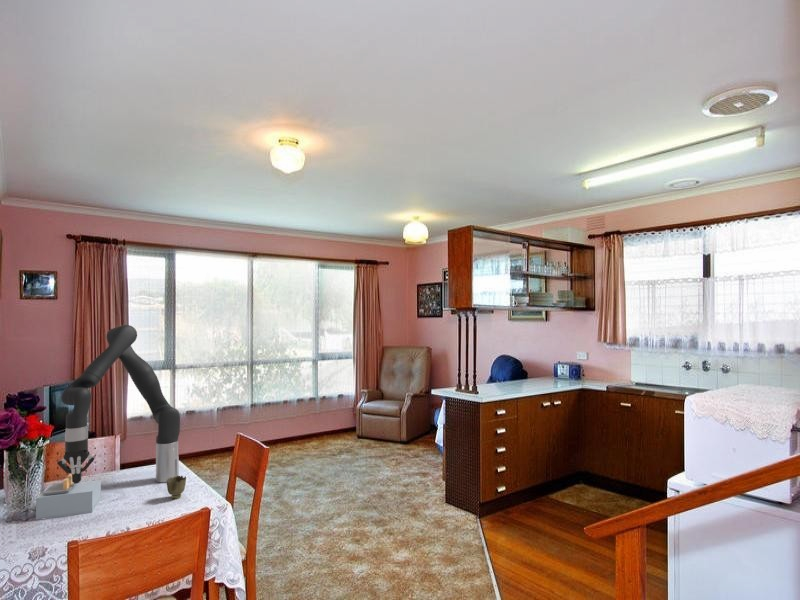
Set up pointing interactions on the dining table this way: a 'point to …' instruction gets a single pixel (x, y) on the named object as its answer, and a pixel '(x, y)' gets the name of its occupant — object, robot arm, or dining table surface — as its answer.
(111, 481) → the dining table surface
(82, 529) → the dining table surface
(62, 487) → the lid
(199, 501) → the dining table surface
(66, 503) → the housing
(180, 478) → the cup
